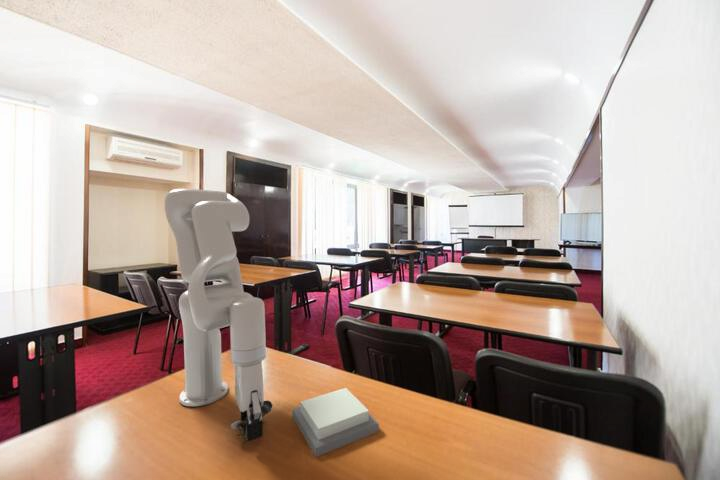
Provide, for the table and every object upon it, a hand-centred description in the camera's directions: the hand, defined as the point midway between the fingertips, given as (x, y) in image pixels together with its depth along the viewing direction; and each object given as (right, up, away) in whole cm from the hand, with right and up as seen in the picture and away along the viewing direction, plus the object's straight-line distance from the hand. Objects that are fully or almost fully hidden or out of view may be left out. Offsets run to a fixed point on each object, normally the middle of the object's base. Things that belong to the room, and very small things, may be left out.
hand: (251, 427), depth 70 cm
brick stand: (+19, -3, +5) cm, 20 cm away
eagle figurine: (0, -3, +2) cm, 3 cm away
